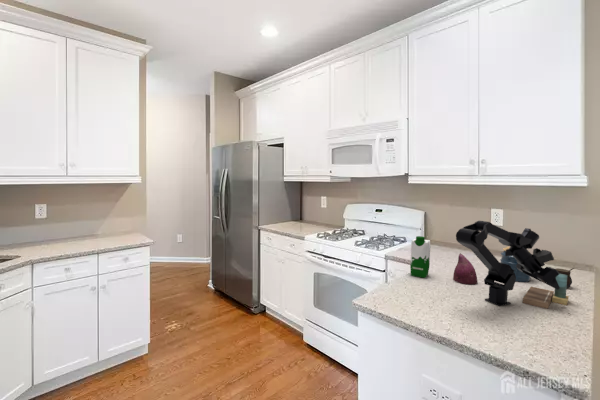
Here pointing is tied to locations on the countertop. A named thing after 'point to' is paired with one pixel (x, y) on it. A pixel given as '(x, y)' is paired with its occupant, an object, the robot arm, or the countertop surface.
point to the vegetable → (464, 271)
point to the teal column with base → (561, 290)
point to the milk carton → (420, 257)
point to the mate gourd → (566, 272)
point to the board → (538, 297)
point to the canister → (514, 266)
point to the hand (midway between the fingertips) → (550, 284)
